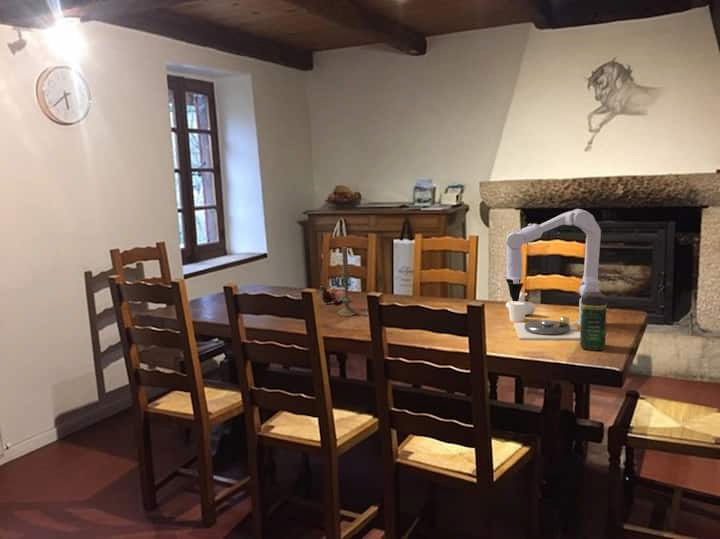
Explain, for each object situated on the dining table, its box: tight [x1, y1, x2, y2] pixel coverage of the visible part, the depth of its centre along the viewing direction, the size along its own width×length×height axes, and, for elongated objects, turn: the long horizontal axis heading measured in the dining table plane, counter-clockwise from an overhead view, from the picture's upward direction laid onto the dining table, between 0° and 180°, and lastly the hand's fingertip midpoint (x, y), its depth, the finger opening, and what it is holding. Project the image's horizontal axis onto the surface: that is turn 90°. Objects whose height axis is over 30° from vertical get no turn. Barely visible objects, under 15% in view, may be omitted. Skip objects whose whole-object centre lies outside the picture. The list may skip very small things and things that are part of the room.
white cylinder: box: [507, 301, 526, 323], centre depth 247 cm, size 7×7×7 cm
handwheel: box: [525, 316, 570, 334], centre depth 227 cm, size 16×16×4 cm
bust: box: [505, 291, 536, 316], centre depth 255 cm, size 12×8×11 cm
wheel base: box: [513, 322, 581, 341], centre depth 228 cm, size 22×22×1 cm
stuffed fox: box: [319, 286, 345, 304], centre depth 296 cm, size 8×11×12 cm
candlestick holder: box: [337, 246, 357, 315], centre depth 268 cm, size 9×9×30 cm
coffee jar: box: [579, 291, 607, 351], centre depth 205 cm, size 10×8×19 cm
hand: (514, 299), depth 240 cm, fingers open, 7 cm apart
